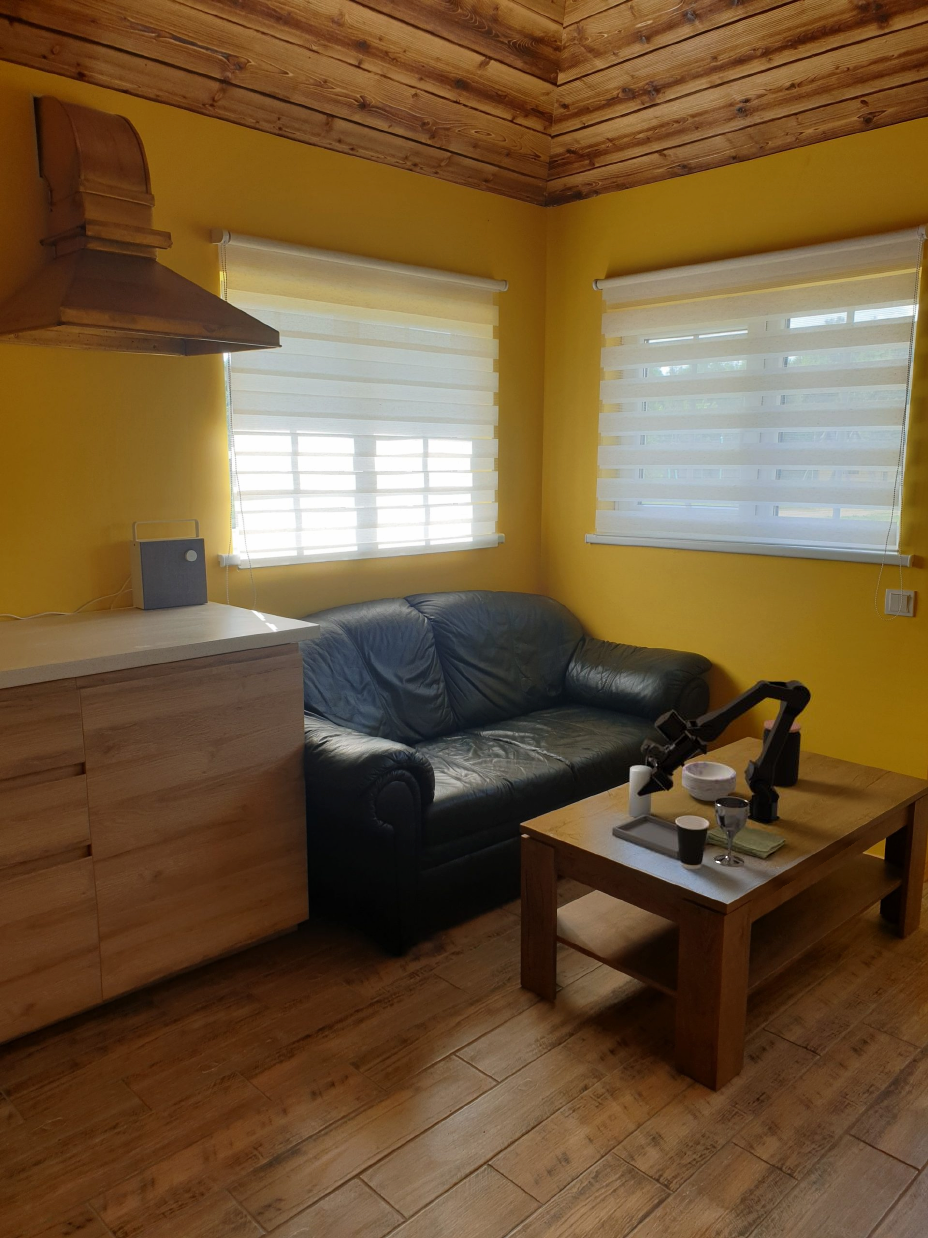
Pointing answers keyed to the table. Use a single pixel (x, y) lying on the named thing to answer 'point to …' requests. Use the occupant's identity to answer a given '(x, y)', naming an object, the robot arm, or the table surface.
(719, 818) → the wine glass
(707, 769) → the paper bowls
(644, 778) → the white cylinder
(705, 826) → the dixie cup
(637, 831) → the tray
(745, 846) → the washcloth
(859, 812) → the table surface
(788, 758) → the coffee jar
